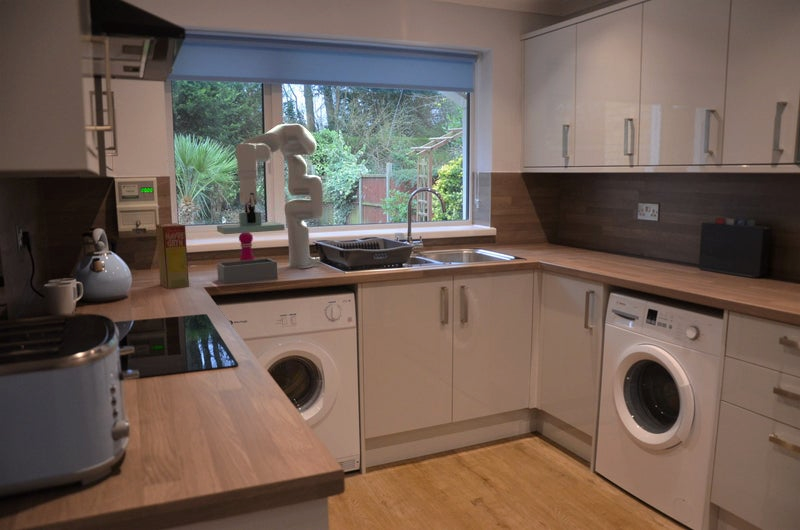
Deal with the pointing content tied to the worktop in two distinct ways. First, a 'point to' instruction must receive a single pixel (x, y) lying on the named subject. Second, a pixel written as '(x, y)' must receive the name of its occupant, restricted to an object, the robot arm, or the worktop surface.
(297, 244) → the robot arm
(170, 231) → the food packaging
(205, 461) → the worktop surface
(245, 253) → the pepper mill
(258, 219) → the lid
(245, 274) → the tub
